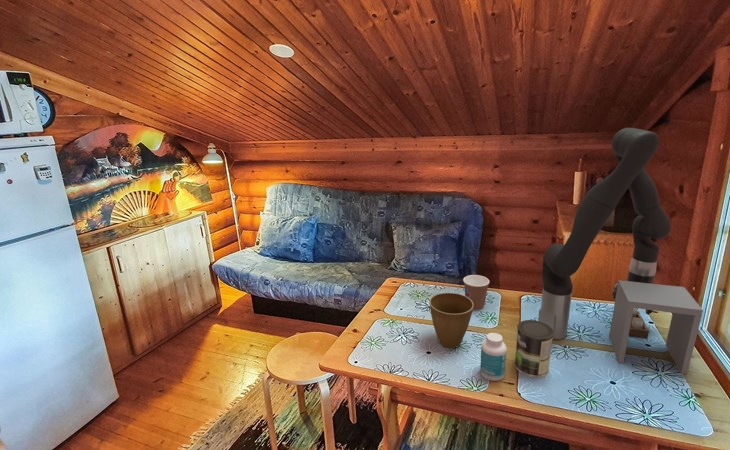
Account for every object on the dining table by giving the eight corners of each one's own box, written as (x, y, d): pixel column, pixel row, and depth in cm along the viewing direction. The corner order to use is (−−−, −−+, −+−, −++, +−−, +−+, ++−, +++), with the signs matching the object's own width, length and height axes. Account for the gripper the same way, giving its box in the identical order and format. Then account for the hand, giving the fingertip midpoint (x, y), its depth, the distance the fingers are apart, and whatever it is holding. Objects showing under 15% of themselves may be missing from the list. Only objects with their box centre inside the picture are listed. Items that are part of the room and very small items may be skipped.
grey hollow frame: (609, 336, 136) (618, 280, 130) (671, 345, 130) (684, 287, 123) (617, 362, 123) (628, 301, 116) (687, 374, 117) (703, 310, 110)
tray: (619, 315, 149) (621, 303, 147) (637, 318, 146) (639, 305, 145) (627, 335, 136) (629, 322, 135) (647, 338, 134) (650, 325, 132)
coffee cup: (460, 300, 166) (461, 274, 162) (485, 300, 165) (486, 274, 161) (464, 312, 156) (465, 286, 153) (490, 312, 155) (491, 285, 152)
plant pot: (433, 356, 131) (433, 314, 126) (426, 331, 145) (426, 293, 140) (477, 354, 131) (479, 312, 126) (465, 329, 145) (467, 291, 140)
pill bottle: (506, 383, 117) (509, 345, 113) (481, 381, 118) (483, 343, 114) (503, 367, 124) (505, 330, 120) (479, 365, 125) (480, 329, 121)
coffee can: (521, 378, 118) (524, 338, 114) (509, 357, 128) (512, 320, 124) (555, 377, 118) (559, 337, 114) (541, 356, 128) (545, 319, 124)
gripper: (662, 269, 136) (653, 309, 141) (616, 264, 141) (608, 303, 146) (670, 278, 129) (660, 320, 134) (620, 272, 134) (612, 313, 139)
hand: (633, 311), depth 140 cm, fingers open, 8 cm apart
